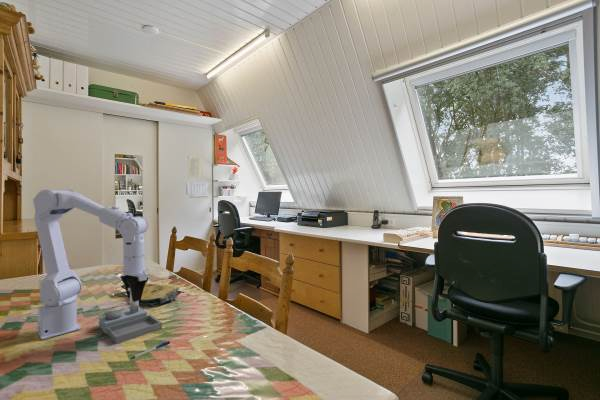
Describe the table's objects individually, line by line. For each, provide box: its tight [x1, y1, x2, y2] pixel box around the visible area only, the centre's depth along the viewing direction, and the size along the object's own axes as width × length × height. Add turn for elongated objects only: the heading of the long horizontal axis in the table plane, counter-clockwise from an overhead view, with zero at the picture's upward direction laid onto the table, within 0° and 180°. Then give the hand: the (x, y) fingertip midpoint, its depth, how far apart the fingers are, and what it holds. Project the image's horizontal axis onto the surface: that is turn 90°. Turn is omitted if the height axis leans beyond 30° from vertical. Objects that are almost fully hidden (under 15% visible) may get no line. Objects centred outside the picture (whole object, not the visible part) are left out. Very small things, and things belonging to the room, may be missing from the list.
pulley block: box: [120, 283, 185, 308], centre depth 122 cm, size 14×6×30 cm
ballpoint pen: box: [130, 340, 171, 360], centre depth 82 cm, size 10×1×1 cm, turn 144°
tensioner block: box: [98, 306, 148, 334], centre depth 98 cm, size 12×7×4 cm, turn 138°
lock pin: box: [128, 287, 140, 313], centre depth 93 cm, size 4×4×8 cm
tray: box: [105, 314, 163, 345], centre depth 93 cm, size 13×9×2 cm
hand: (134, 299), depth 93 cm, fingers closed on lock pin, 3 cm apart
